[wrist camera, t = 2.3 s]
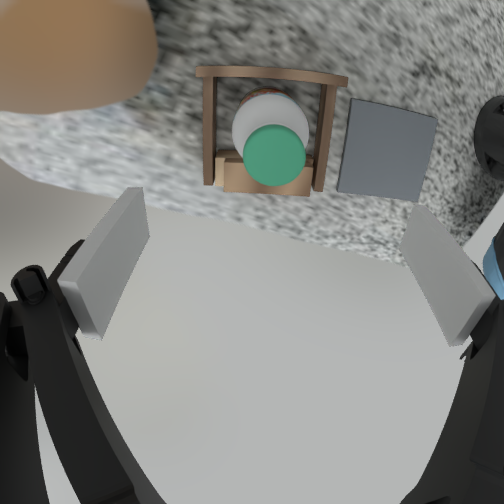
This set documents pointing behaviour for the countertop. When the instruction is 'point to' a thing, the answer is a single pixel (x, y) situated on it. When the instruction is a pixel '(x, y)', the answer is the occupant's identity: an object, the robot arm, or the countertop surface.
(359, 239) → the countertop surface
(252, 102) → the milk bottle
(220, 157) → the frame
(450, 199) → the countertop surface
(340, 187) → the rubber mat
